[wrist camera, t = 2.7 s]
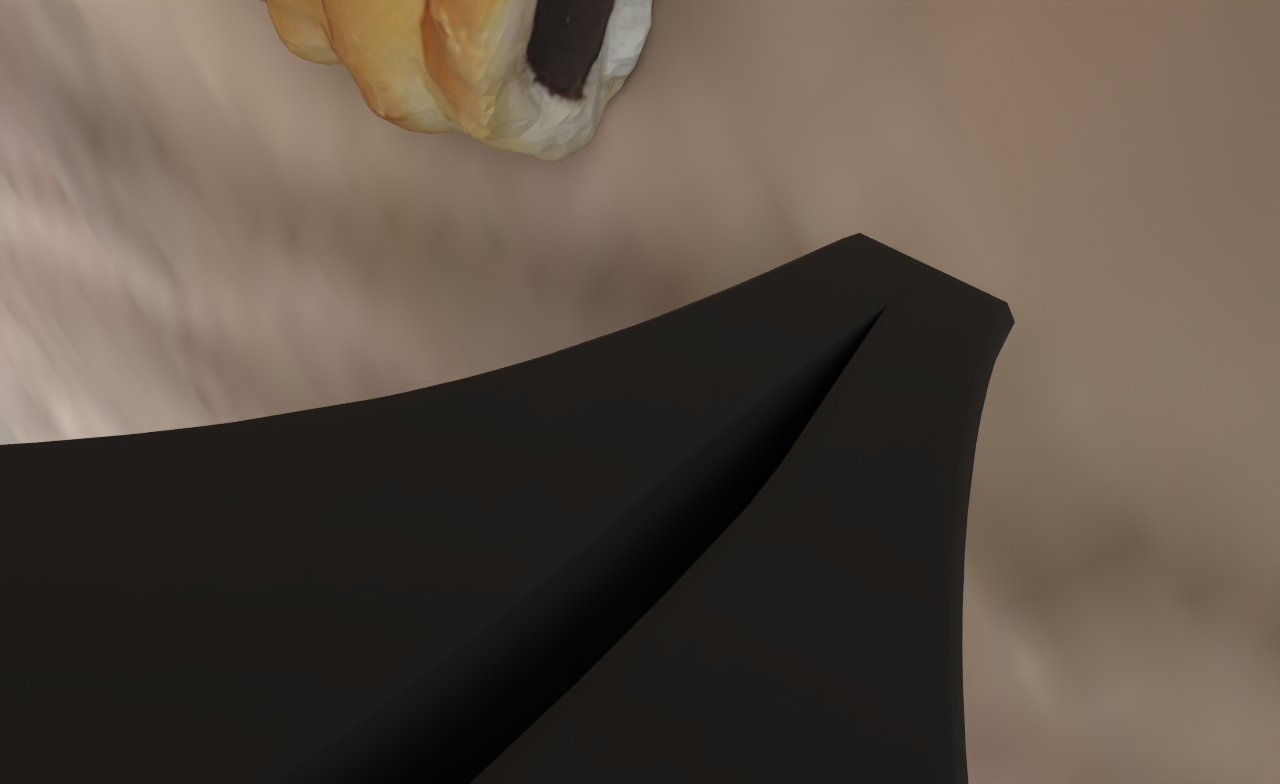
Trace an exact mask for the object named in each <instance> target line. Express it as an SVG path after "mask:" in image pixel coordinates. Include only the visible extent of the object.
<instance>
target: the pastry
mask: <svg viewBox="0 0 1280 784" xmlns="http://www.w3.org/2000/svg"><path fill="white" fill-rule="evenodd" d="M261 1H264V2H267V6H268V12H269V14H270V17H271V19H272V22H273V24H274V27H275V29H276V31H277V33H278V35H279V37H280V39H281V41H282V42H283V43H284V44H285V46H286V47H287V48H288V49H289V50H290V52H291V53H293V54H295V55H297V56H298V57H300V58H302V59H305V60H308V61H312V62H315V63H321V64H326V65H333V64H342V65H346V67H347V68H348V70H349V71H350V73H351V75H352V77H353V79H354V80H355V82H356V84H357V86H358V88H359V90H360V91H361V93H362V95H363V97H364V99H365V101H366V103H367V105H368V107H369V109H371V110H372V111H373V112H374V113H375V114H377V115H378V116H379V117H381V118H383V119H385V120H387V121H389V122H391V123H393V124H395V125H397V126H399V127H401V128H404V129H407V130H410V131H414V132H421V133H445V132H454V133H463V134H470V135H471V136H472V137H473V138H477V139H478V140H480V141H482V142H483V143H485V144H487V145H489V146H491V147H493V148H496V149H499V150H505V151H511V152H518V153H527V154H532V155H533V156H534V157H535V158H536V159H538V160H542V161H550V162H554V161H559V160H562V159H563V158H565V157H566V156H568V155H569V154H571V153H572V152H574V151H576V150H578V149H580V148H582V147H584V146H586V145H587V144H588V143H589V142H590V141H591V139H592V138H593V137H594V135H595V133H596V130H597V128H598V125H599V122H600V120H601V117H602V114H603V110H604V108H605V107H606V105H607V103H608V102H609V100H610V99H612V98H613V97H614V95H615V94H616V93H617V92H618V91H619V90H620V89H621V87H622V85H623V83H624V81H625V80H626V78H627V77H628V75H629V74H630V72H631V71H632V70H633V69H634V67H635V65H636V63H637V60H638V58H639V55H640V53H641V50H642V48H643V45H644V43H645V40H646V38H647V35H648V32H649V29H650V27H651V6H652V1H653V0H261Z"/></svg>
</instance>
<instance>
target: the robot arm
mask: <svg viewBox="0 0 1280 784" xmlns="http://www.w3.org/2000/svg"><path fill="white" fill-rule="evenodd" d="M1014 323H1015V321H1014V319H1013V316H1012V314H1011V311H1010V309H1009V306H1008V303H1007V302H1005V301H1002V300H1000V299H998V298H996V297H994V296H992V295H990V294H988V293H986V292H983V291H981V290H979V289H977V288H975V287H973V286H971V285H969V284H967V283H964V282H962V281H960V280H958V279H956V278H954V277H952V276H950V275H948V274H945V273H943V272H941V271H939V270H937V269H935V268H933V267H931V266H929V265H926V264H924V263H922V262H920V261H918V260H916V259H914V258H912V257H910V256H907V255H905V254H903V253H901V252H899V251H897V250H895V249H893V248H891V247H888V246H886V245H884V244H882V243H880V242H878V241H876V240H874V239H872V238H869V237H867V236H865V235H863V234H861V233H858V234H855V235H852V236H849V237H846V238H843V239H841V240H838V241H836V242H834V243H831V244H829V245H827V246H824V247H822V248H820V249H818V250H815V251H813V252H811V253H809V254H807V255H804V256H802V257H800V258H798V259H795V260H793V261H791V262H789V263H786V264H784V265H782V266H780V267H777V268H775V269H773V270H771V271H768V272H766V273H764V274H761V275H759V276H757V277H754V278H752V279H750V280H747V281H745V282H743V283H740V284H738V285H736V286H733V287H731V288H729V289H726V290H724V291H721V292H719V293H716V294H714V295H711V296H709V297H706V298H704V299H701V300H699V301H696V302H693V303H691V304H688V305H686V306H683V307H681V308H678V309H676V310H673V311H671V312H668V313H666V314H663V315H661V316H658V317H656V318H653V319H650V320H648V321H645V322H642V323H640V324H637V325H634V326H631V327H628V328H626V329H623V330H620V331H617V332H614V333H611V334H608V335H605V336H602V337H599V338H596V339H593V340H590V341H587V342H584V343H581V344H578V345H575V346H572V347H569V348H566V349H563V350H560V351H557V352H554V353H551V354H548V355H545V356H542V357H539V358H535V359H532V360H529V361H525V362H522V363H518V364H515V365H511V366H508V367H504V368H501V369H497V370H494V371H490V372H486V373H483V374H479V375H475V376H471V377H468V378H464V379H460V380H456V381H451V382H447V383H443V384H439V385H434V386H430V387H426V388H422V389H417V390H413V391H409V392H405V393H400V394H395V395H390V396H385V397H380V398H376V399H370V400H364V401H358V402H352V403H346V404H340V405H334V406H328V407H322V408H316V409H310V410H304V411H298V412H292V413H286V414H280V415H274V416H268V417H262V418H256V419H250V420H244V421H238V422H232V423H224V424H217V425H209V426H201V427H192V428H183V429H174V430H166V431H157V432H148V433H139V434H130V435H119V436H107V437H96V438H84V439H73V440H61V441H50V442H38V443H22V444H8V445H0V784H968V773H967V760H966V745H965V722H964V700H963V667H962V610H963V584H964V558H965V541H966V528H967V515H968V505H969V497H970V489H971V481H972V473H973V464H974V456H975V448H976V442H977V436H978V430H979V424H980V419H981V414H982V410H983V406H984V401H985V397H986V393H987V388H988V384H989V380H990V377H991V374H992V370H993V367H994V364H995V361H996V358H997V356H998V354H999V352H1000V350H1001V348H1002V346H1003V344H1004V342H1005V340H1006V338H1007V336H1008V334H1009V332H1010V330H1011V328H1012V327H1013V325H1014Z"/></svg>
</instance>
